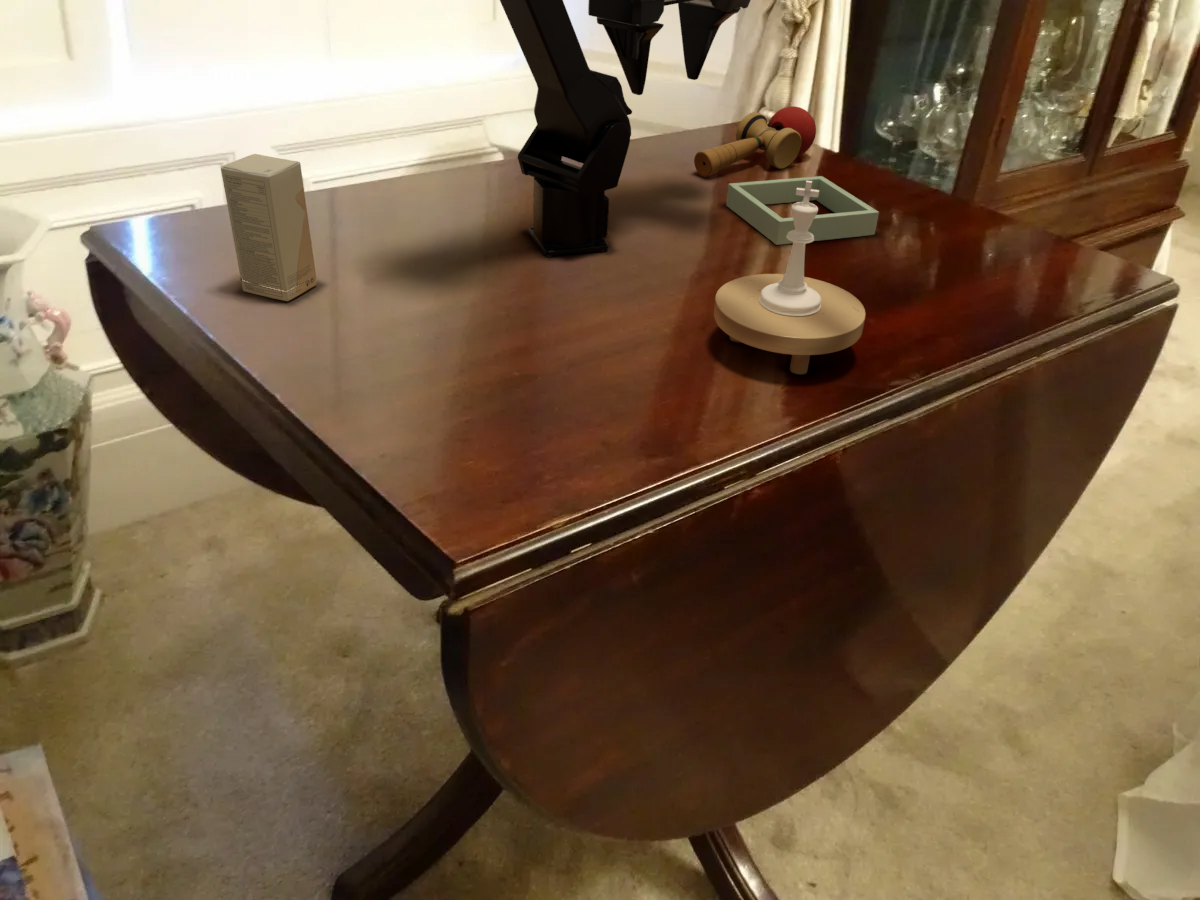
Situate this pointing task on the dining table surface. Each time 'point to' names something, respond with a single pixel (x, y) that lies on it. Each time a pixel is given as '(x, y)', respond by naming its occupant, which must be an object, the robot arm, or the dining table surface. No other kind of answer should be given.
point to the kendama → (763, 140)
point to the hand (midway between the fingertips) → (665, 86)
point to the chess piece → (795, 265)
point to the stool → (789, 320)
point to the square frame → (753, 197)
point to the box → (270, 225)
